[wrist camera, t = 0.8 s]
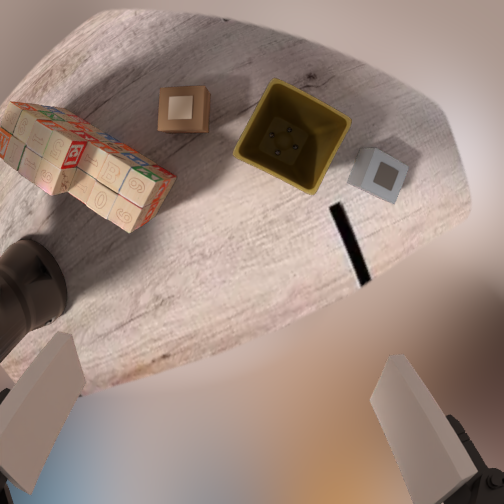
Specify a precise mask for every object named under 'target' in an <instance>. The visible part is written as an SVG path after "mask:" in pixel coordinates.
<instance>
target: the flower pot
mask: <svg viewBox="0 0 504 504" xmlns="http://www.w3.org/2000/svg"><path fill="white" fill-rule="evenodd" d="M351 123H352V119H351V118H350V117H348V116H347V115H345V114H343V113H341V112H340V111H338V110H336V109H335V108H333V107H331V106H329V105H327V104H326V103H324V102H322V101H320V100H319V99H317V98H315V97H313V96H311V95H309V94H308V93H306V92H304V91H302V90H300V89H298V88H296V87H294V86H292V85H290V84H288V83H286V82H284V81H282V80H279V79H277V78H273V79H272V80H271V81H270V82H269V84H268V86H267V88H266V90H265V92H264V93H263V95H262V97H261V99H260V101H259V103H258V105H257V107H256V108H255V110H254V112H253V114H252V116H251V118H250V120H249V122H248V123H247V125H246V127H245V129H244V131H243V133H242V135H241V136H240V138H239V140H238V142H237V144H236V146H235V148H234V151H233V156H234V157H235V158H237V159H239V160H241V161H243V162H245V163H247V164H250V165H252V166H254V167H256V168H258V169H260V170H262V171H264V172H266V173H269V174H271V175H273V176H275V177H277V178H279V179H281V180H282V181H284V182H286V183H288V184H290V185H292V186H294V187H296V188H297V189H299V190H301V191H303V192H305V193H307V194H309V195H314V194H315V193H316V192H317V190H318V188H319V186H320V184H321V182H322V180H323V178H324V176H325V174H326V172H327V170H328V168H329V166H330V164H331V162H332V160H333V158H334V156H335V154H336V152H337V150H338V149H339V147H340V145H341V143H342V141H343V139H344V137H345V135H346V134H347V132H348V130H349V128H350V126H351ZM288 128H291V129H292V131H291V132H288V131H287V129H288ZM270 133H273V134H274V137H270V136H269V134H270ZM294 145H297V149H293V146H294ZM276 150H279V151H280V154H279V155H277V154H276V153H275V152H276Z"/></svg>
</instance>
